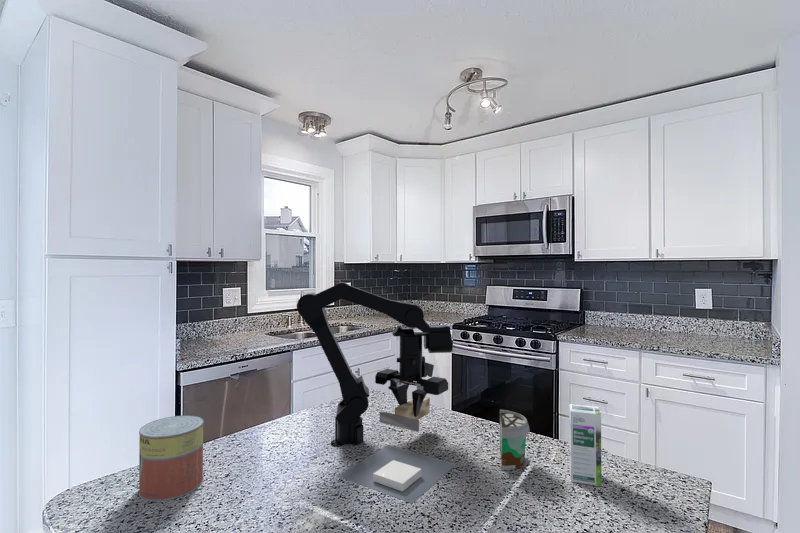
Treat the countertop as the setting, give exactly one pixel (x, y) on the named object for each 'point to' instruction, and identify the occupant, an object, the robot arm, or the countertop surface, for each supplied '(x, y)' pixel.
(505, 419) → the food container
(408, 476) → the tile
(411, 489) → the slate board
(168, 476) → the canned food
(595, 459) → the syrup box
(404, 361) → the robot arm
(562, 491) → the countertop surface
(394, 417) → the block
